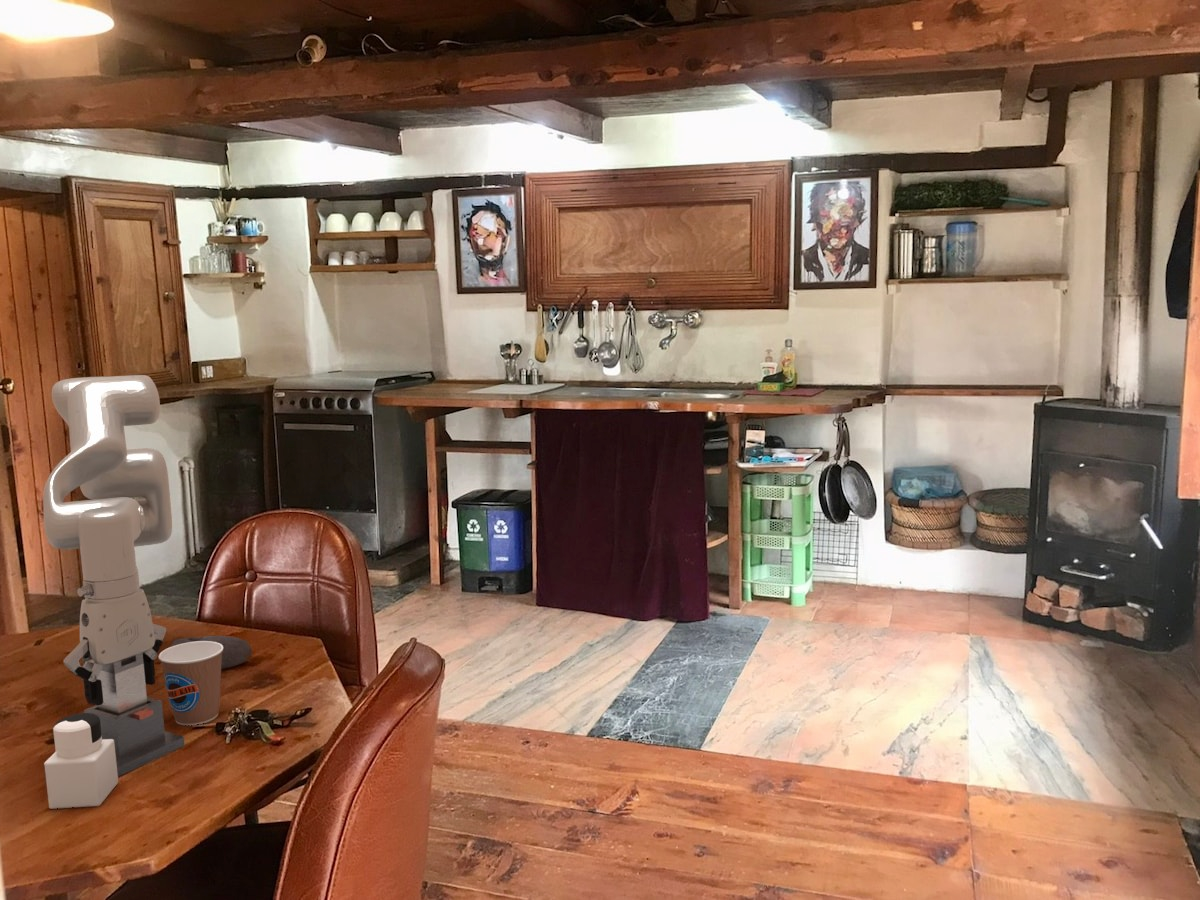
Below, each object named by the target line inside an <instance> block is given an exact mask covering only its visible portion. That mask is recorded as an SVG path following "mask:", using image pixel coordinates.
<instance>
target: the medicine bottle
mask: <svg viewBox="0 0 1200 900" xmlns="http://www.w3.org/2000/svg"><path fill="white" fill-rule="evenodd" d="M52 731H53V739H54V741H53V742H54V748H55V751H54V753H53V754H52V755H50V757H48V758H47V759H46V761H45V762H44V763H43V767H44V768H43V769H44V776H45V785H46V794H47V795H46V796H47V802H48V803H47V804H48V808H49V809H51V810H56V809H57V808H58V809H70V808H71V809H73V808H72V807H74V808H90V807H99V806H101V805H102V803H103V802H104V801H105V800H106V799H107V797H108V796H109V795H110V794H111V792H112V791H113V789H114V788H115V787H116V786H117V785H118V783H119V777H118V774H117V764H116V754H115V744H114V740H113V739H103V740H102V734H101V724H100V718H99V717H98V716H97V715H95V714H91V713H84V712H79V713H74V714H71V715H68V716H67V715H66V716H65V717H62V718H61V719H59V720H58V721H57V722H55V724H54V725H53V726H52Z"/></svg>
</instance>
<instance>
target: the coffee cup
mask: <svg viewBox="0 0 1200 900" xmlns="http://www.w3.org/2000/svg"><path fill="white" fill-rule="evenodd" d="M222 651H223V646H222V644H220V643H217V642H212V641H195V642H188V643H183V644H179V645H175V646H172V647H171V646H170V647H168V648H165V649H164V650H162V651H161V652H160V653H159V654H158V659H159V661H161V667H162V671H163V672H162V673H163V675H164V682H165V688H166V692H167V696H168V701H169V704H170V707H171V710H172V715H173V717H174V721H175V722H176V723H177V724H178V725H180V726H185V725H186V727H189V726H190V727H191V725H192V726H197V724H199V725H203V723H204V724H206V723H209V722H212V721H213V720H215V719H216V718H217V717H218V716H219V711H220V710H219V709H220V704H221V703H220V702H221V681H222V680H221V678H222V677H221V676H222V669H221V660H222ZM188 725H189V726H188Z"/></svg>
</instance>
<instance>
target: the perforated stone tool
mask: <svg viewBox="0 0 1200 900" xmlns="http://www.w3.org/2000/svg"><path fill="white" fill-rule="evenodd" d="M195 641H212V642H217V643H220V644H222V646H223V651H222V660H221V670H225V669H229V668H233V667H236V666H239V665H242V664H243V663H244V662H246V661H248V659H249V658H250V657H251V655H252V647H251V645H250V643H249V642H248V641H247V640H244V639H242V638H240V637H236V636H229V635H227V636H226V635H207V636H205V635H204V636H201V637H199V636H198V637H193V636H192V637H185V638H178V639H175V640H173V642H171V645H170V647H172V646H175V645H179V644H183V643H188V642H195Z"/></svg>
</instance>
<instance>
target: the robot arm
mask: <svg viewBox="0 0 1200 900" xmlns="http://www.w3.org/2000/svg"><path fill="white" fill-rule="evenodd" d="M51 400H52V403H53V405H54V408H55V410H56V412H57V413H58V415H60V417H61V418H62V419H63V421H64V422H65V423H66V425H67V426H68V429H69V430H68V431H69V446H70V453H68V454H67V455H65V456H64V458H63V459H61V460H60V461H59V462H58V463H57V465H55V467H54V468H53V469H52V471H51V472H50V474H49V475H48V478H47V479H46V482H45V484H44V488H43V494H42V505H43V507H42V508H43V527H44V533H45V537H46V540H47V541H48V543H49V544H50V546H51V547H52V548H55V549H56V550H60V551H61V550H63V551H65V550H77V549H80V550H79V551H80V559H81V570H82V578H83V579H82V580H83V581H82V586H81V587H79V588H77V590H76V593H77V595H78V596H79V597H84V598H85V599H82V600H81V605H80V611H79V613H80V614H79V643H78V644H77V645H76V646H75V647H74V648H73V650H72V651H70V652H69V654H67V656H65V657H64V659H63V664H64V665H65V666H66V667H67V668H68V670H70V672H71V673H72V674H73V675H74V676H77V677H78V678H79V679H81V680H83V687H84V698H85V700H86V701H87V702H88V703H89V704H91V703H92V705H94V706H95V705H101V704H103V692H102V683H101V680H99V679H97V678H98V676H99V673H100V671H101V669H102V667H103V666H106V665H110V664H113V663H116V662H118V661H122V660H125V659H128V658H130V657H133V656H136V655H138V654H141V653H143V663H144V673H145V684H147V685H151V686H152V685H155V684H156V677H155V676H156V669H155V667H156V666H155V660H156V659H157V657H158V651H159V650H160V648H161V647H162V645H163V640H164V637H165V635H166V633H167V627H166V626H162V625H159V624H156V623H153V618H152V613H151V609H150V606H149V603H148V599H147V596H146V594H145V591H144V589H143V588H141V587H140V577H139V570H138V567H137V561H136V551H135V549H136V547H144V546H152V545H159V544H163V543H165V542H167V541H168V540H169V539H170V537H171V536H172V533H173V530H172V529H173V516H172V515H173V513H172V506H171V494H170V482H169V481H170V480H169V474H168V473H169V471H168V467H167V462H166V459H165V457H164V455H163V454H162V453H161V452H160V451H159V450H158V449H154V448H147V447H146V448H134V449H127V442H126V440H127V439H126V435H125V427H129V426H143V425H144V426H145V425H153V424H155V423H156V422H157V420H158V419H159V416H160V412H161V404H160V403H161V400H160V394H159V391H158V388H157V386H156V383H155V382H154V381H153V379H152V378H151V377H150V376H148V375H145V374H143V375H142V374H135V375H117V376H115V375H114V376H87V377H86V376H85V377H73V378H67V379H65V378H64V379H61V380H59V381H57V382H55V384H53V386H52V388H51ZM79 487H80V491H81V493H82V494H83V496H84V498H86V499H85V500H74V501H65V502H64V499H65V498H66V497H67V496H68V495H69V494H70V493H72V491H74V490H75V489H77V488H79ZM138 497H141V498H138ZM134 498H136V499H134ZM82 658H83V660H84V661H86V662H85V664H84V666H83V665H81V663H80V660H81V659H82ZM93 665H94V666H93ZM92 667H93V668H92ZM91 669H92V670H91ZM90 671H91V672H90Z"/></svg>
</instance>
